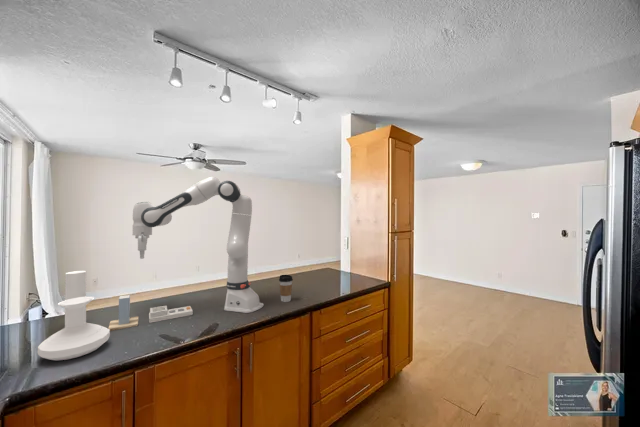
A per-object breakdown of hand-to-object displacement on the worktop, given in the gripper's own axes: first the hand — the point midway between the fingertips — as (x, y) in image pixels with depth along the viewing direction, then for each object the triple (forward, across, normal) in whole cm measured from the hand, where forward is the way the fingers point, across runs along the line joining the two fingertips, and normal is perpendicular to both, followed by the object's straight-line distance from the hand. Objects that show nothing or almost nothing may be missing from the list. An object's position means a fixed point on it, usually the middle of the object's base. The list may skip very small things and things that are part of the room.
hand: (142, 257), depth 141 cm
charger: (+28, -16, +7) cm, 33 cm away
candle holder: (+29, -37, +20) cm, 51 cm away
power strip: (+29, -16, -13) cm, 36 cm away
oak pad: (+29, -16, +7) cm, 34 cm away
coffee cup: (+29, -27, -73) cm, 83 cm away
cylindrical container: (+29, -6, +26) cm, 39 cm away
